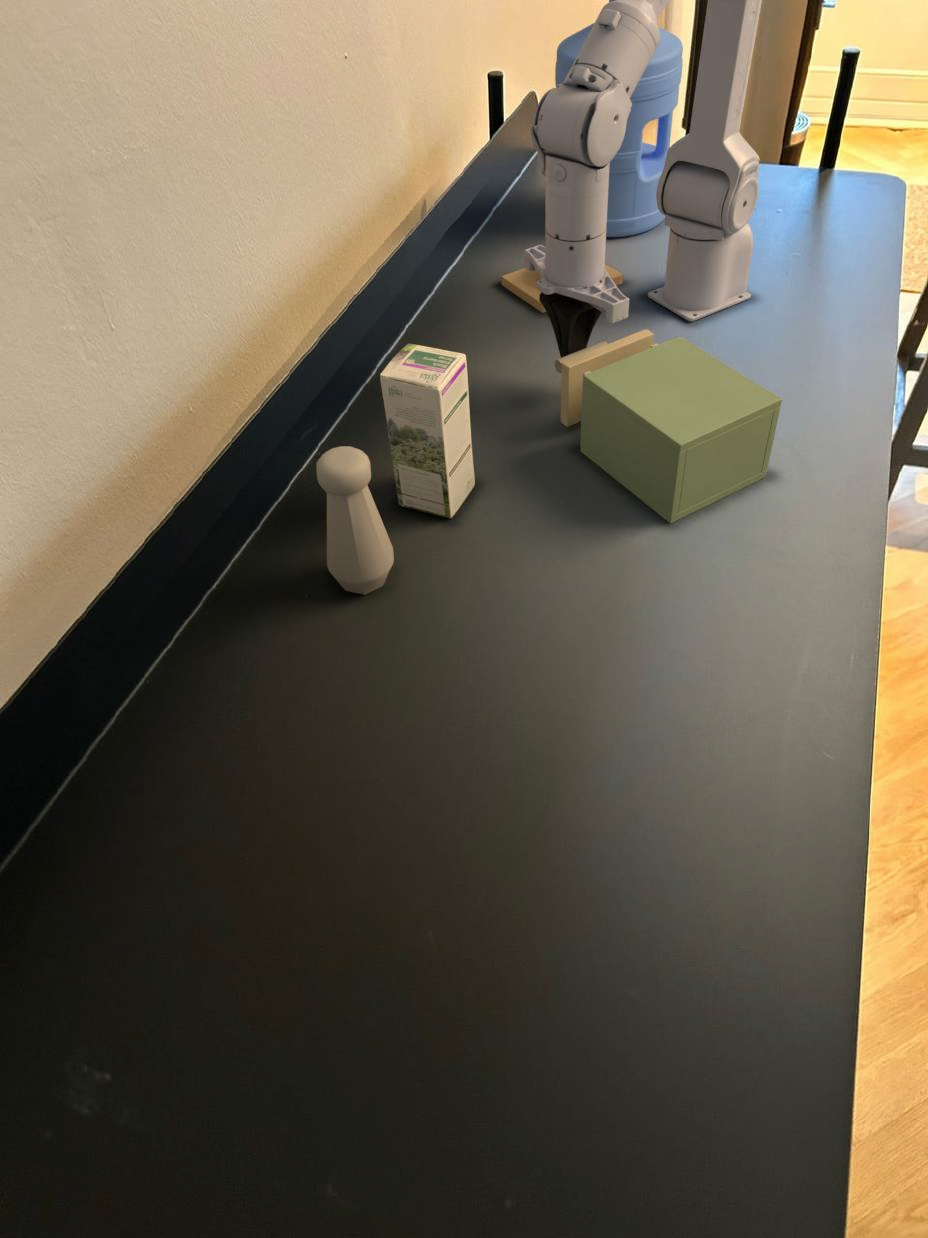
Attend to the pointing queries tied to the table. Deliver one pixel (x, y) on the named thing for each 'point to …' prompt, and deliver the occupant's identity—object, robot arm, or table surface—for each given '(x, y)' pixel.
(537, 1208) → the table surface
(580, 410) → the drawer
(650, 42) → the robot arm
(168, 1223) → the table surface
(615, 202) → the water jug
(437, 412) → the syrup box
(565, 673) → the table surface
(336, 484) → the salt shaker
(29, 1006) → the table surface
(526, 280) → the block
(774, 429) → the sage green panel box
